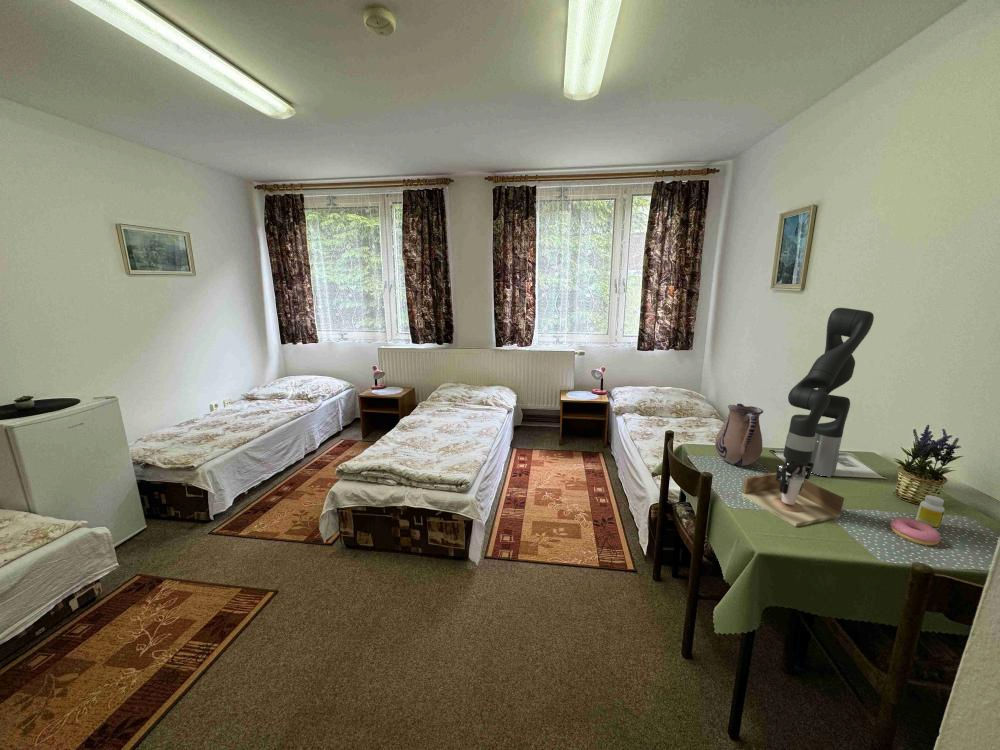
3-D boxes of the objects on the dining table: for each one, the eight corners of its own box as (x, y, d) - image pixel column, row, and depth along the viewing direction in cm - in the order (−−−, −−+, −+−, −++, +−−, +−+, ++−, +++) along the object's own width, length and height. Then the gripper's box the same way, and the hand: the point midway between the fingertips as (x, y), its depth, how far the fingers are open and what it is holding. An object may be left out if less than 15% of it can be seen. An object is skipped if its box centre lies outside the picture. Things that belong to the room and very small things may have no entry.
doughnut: (941, 553, 115) (945, 540, 114) (889, 536, 122) (892, 524, 121) (936, 536, 122) (940, 524, 121) (888, 521, 130) (891, 510, 129)
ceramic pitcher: (746, 454, 181) (755, 402, 175) (772, 475, 160) (783, 417, 155) (706, 452, 182) (713, 400, 177) (727, 473, 162) (736, 415, 156)
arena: (782, 488, 150) (785, 471, 148) (839, 517, 131) (844, 497, 130) (741, 495, 144) (744, 477, 143) (795, 526, 126) (799, 506, 124)
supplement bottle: (942, 532, 124) (950, 504, 122) (918, 526, 127) (926, 499, 125) (935, 524, 129) (943, 497, 126) (912, 518, 131) (919, 492, 129)
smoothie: (772, 499, 137) (779, 462, 134) (783, 495, 140) (789, 458, 137) (793, 508, 132) (800, 470, 129) (803, 503, 135) (810, 466, 131)
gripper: (794, 452, 126) (785, 500, 130) (826, 448, 130) (816, 494, 134) (772, 443, 133) (764, 489, 137) (803, 439, 137) (794, 483, 141)
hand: (790, 491), depth 135 cm, fingers closed on smoothie, 6 cm apart
